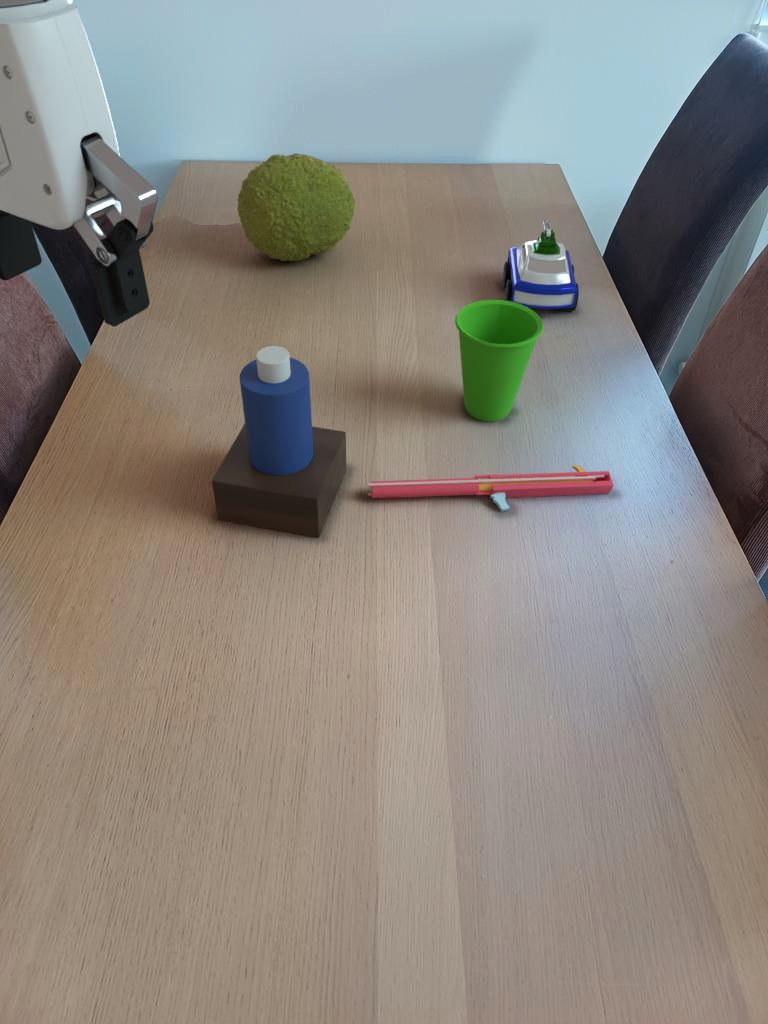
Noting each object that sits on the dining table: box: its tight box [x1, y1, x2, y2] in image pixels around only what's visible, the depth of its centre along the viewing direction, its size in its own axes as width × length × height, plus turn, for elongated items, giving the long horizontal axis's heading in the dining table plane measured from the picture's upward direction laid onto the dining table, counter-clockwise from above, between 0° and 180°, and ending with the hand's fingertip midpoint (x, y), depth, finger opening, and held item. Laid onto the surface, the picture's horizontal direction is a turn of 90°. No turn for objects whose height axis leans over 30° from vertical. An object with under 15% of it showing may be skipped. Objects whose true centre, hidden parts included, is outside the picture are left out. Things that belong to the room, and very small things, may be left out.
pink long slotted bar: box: [367, 464, 614, 512], centre depth 79 cm, size 24×2×5 cm
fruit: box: [237, 152, 356, 263], centre depth 112 cm, size 16×14×15 cm
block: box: [211, 423, 347, 539], centre depth 77 cm, size 10×10×5 cm
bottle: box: [239, 345, 313, 475], centre depth 72 cm, size 6×6×11 cm
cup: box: [454, 299, 544, 422], centre depth 86 cm, size 9×9×11 cm
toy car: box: [502, 220, 580, 312], centre depth 105 cm, size 9×12×10 cm
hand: (72, 292), depth 51 cm, fingers open, 9 cm apart
